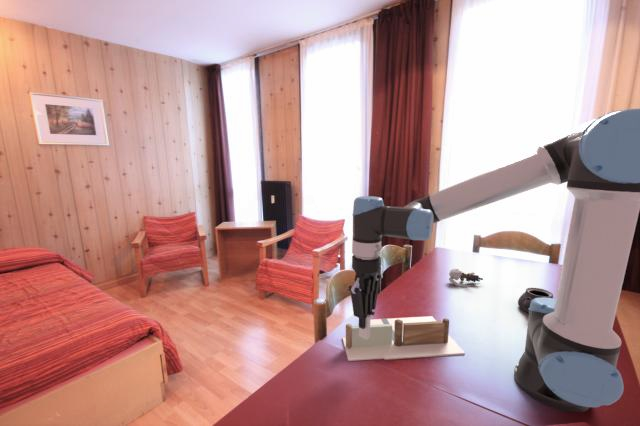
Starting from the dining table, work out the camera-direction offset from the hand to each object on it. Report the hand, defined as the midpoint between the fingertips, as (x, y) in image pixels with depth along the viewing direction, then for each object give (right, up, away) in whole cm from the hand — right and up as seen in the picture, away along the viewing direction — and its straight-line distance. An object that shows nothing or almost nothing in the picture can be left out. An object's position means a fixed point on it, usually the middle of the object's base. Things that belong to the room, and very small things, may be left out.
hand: (364, 336), depth 82 cm
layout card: (+12, -6, +14) cm, 19 cm away
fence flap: (+3, -6, +8) cm, 11 cm away
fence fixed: (+19, -6, +10) cm, 22 cm away
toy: (+61, +3, +52) cm, 80 cm away
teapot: (+70, -3, +26) cm, 75 cm away
